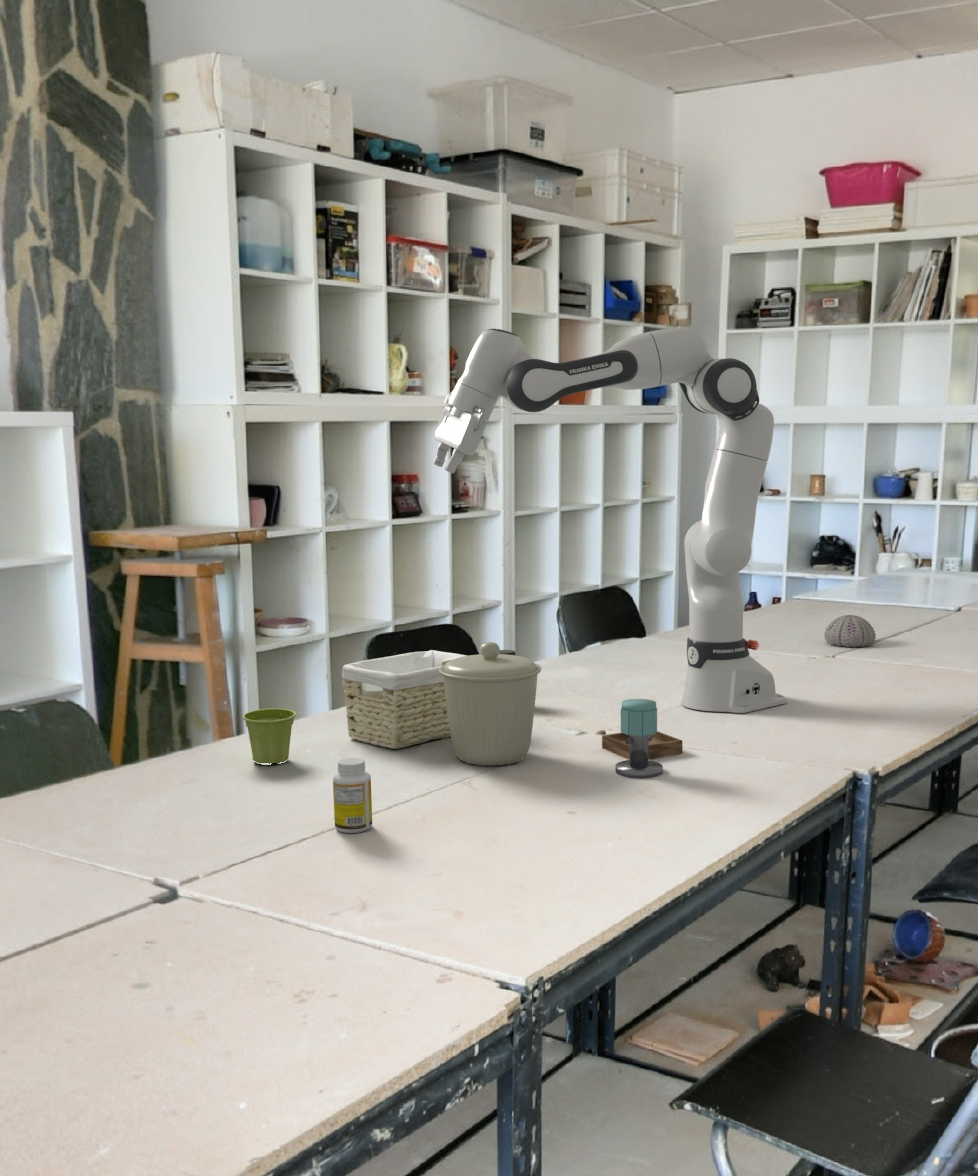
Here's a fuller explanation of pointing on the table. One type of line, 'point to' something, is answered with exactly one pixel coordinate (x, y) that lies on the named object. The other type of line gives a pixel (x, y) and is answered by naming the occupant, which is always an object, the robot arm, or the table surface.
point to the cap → (639, 717)
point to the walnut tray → (656, 747)
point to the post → (638, 760)
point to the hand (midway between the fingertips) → (442, 468)
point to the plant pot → (270, 734)
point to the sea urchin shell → (850, 632)
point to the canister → (490, 705)
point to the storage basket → (397, 699)
